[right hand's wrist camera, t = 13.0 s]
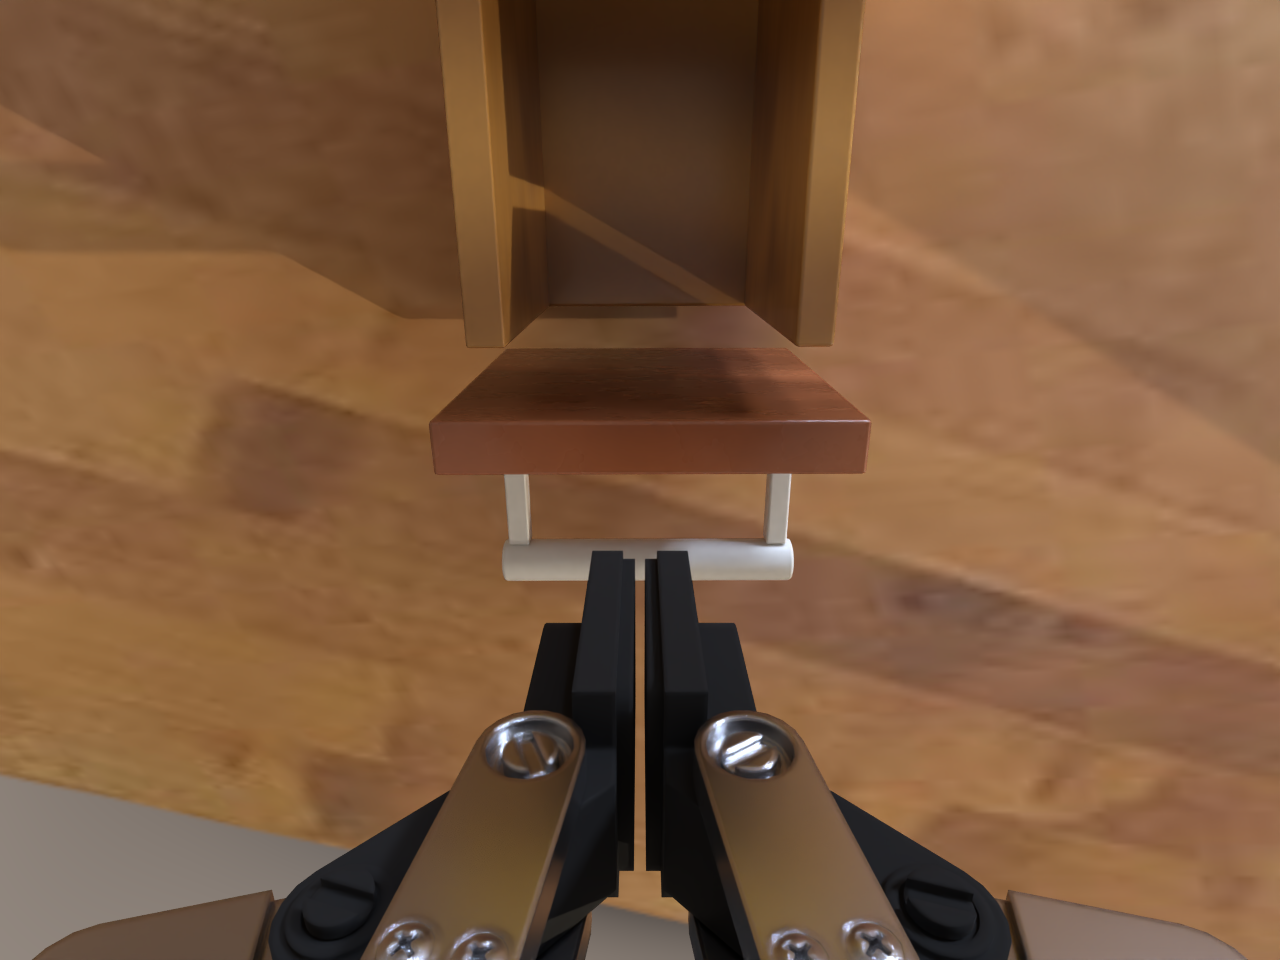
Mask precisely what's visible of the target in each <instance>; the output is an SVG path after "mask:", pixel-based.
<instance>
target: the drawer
mask: <svg viewBox="0 0 1280 960" xmlns="http://www.w3.org/2000/svg"><path fill="white" fill-rule="evenodd" d="M864 10H865V0H436V11H437V22H438V34H439V45H440V56H441V68H442V79H443V90H444V101H445V113H446V124H447V135H448V147H449V158H450V169H451V181H452V192H453V203H454V214H455V226H456V237H457V248H458V260H459V271H460V282H461V293H462V305H463V316H464V327H465V339H466V346H467V347H468V348H504V347H505V346H506V345H507V344H508V343H510V342H511V341H512V340H513V339H514V338H515V337H516V336H517V335H518V334H519V333H520V332H522V331H523V330H524V329H525V328H526V327H527V326H528V325H529V324H530V323H531V322H532V321H533V320H535V319H536V318H537V317H538V316H539V315H540V314H541V313H542V312H543V311H544V310H545V309H547V308H548V307H549V306H747V307H748V308H749V309H750V310H752V311H753V312H754V313H755V314H757V315H758V316H759V317H761V318H762V319H763V320H764V321H766V322H767V323H768V324H769V325H771V326H772V327H773V328H774V329H776V330H777V331H778V332H780V333H781V334H782V335H783V336H785V337H786V338H787V339H788V340H790V341H791V342H792V343H793V344H795V345H796V346H799V347H827V346H832V345H833V343H834V336H835V325H836V314H837V303H838V292H839V282H840V271H841V260H842V249H843V238H844V227H845V216H846V206H847V195H848V184H849V173H850V162H851V151H852V140H853V130H854V119H855V108H856V97H857V86H858V75H859V64H860V54H861V43H862V32H863V21H864ZM429 430H430V439H431V448H432V457H433V466H434V472H435V474H438V475H504V480H505V494H506V507H507V520H508V534H509V539H508V540H506V541H505V543H504V546H503V552H502V570H503V575H504V578H505V580H508V581H588V576H589V570H590V563H591V556H592V551H623V559H635V580H645V559H657V551H688V556H689V563H690V570H691V576H692V580H789V579H790V578H791V576H792V573H793V566H794V556H793V548H792V544H791V542H790V540H789V539H787V525H788V512H789V499H790V485H791V474H862V473H865V471H866V466H867V458H868V449H869V440H870V431H871V420H869V419H868V418H867V417H866V416H865V415H864V414H863V413H861V412H860V411H859V410H858V409H857V408H856V407H854V406H853V405H852V404H851V403H850V402H849V401H847V400H846V399H845V398H844V397H843V396H842V395H840V394H839V393H838V392H837V391H836V390H835V389H833V388H832V387H831V386H830V385H829V384H828V383H826V382H825V381H824V380H823V379H822V378H821V377H819V376H818V375H817V374H816V373H815V372H814V371H812V370H811V369H810V368H809V367H808V366H807V365H805V364H804V363H803V362H802V361H801V360H800V359H798V358H797V357H796V356H795V355H794V354H793V353H791V352H790V351H789V350H788V349H786V348H626V349H506V350H505V351H504V352H503V353H502V354H501V355H500V356H499V357H498V358H497V359H495V360H494V361H493V362H492V363H491V364H490V365H489V366H488V367H487V368H486V369H485V370H484V371H483V372H482V373H481V374H480V375H479V376H478V377H476V378H475V379H474V380H473V381H472V382H471V383H470V384H469V385H468V386H467V387H466V388H465V389H464V390H463V391H462V392H461V393H460V394H459V395H457V396H456V397H455V398H454V399H453V400H452V401H451V402H450V403H449V404H448V405H447V406H446V407H445V408H444V409H443V410H442V411H441V412H440V413H439V414H437V415H436V416H435V417H434V418H433V419H432V420H431V421H430V423H429ZM528 474H767V482H766V498H765V514H764V530H763V536H764V538H689V539H531V538H532V525H531V509H530V493H529V477H528Z"/></svg>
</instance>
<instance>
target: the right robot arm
mask: <svg viewBox="0 0 1280 960" xmlns="http://www.w3.org/2000/svg"><path fill="white" fill-rule="evenodd" d="M634 802H635V559H623V551H592V556H591V563H590V570H589V576H588V583H587V590H586V597H585V604H584V611H583V618H582V623H546V624H545V625H544V628H543V632H542V636H541V640H540V645H539V649H538V653H537V657H536V661H535V666H534V670H533V674H532V678H531V682H530V687H529V691H528V695H527V699H526V703H525V708H524V712H519V713H515V714H511V715H509V716H507V717H504V718H502V719H500V720H498V721H496V722H495V723H494V724H492V725H491V726H489V727H488V728H487V729H485V731H484V732H483V733H482V734H481V736H480V737H479V738H478V740H477V741H476V743H475V745H474V747H473V749H472V751H471V752H470V754H469V756H468V758H467V760H466V762H465V764H464V766H463V767H462V769H461V771H460V773H459V775H458V777H457V779H456V781H455V782H454V784H453V786H452V788H451V790H450V791H448V792H446V793H445V794H443V795H441V796H440V797H438V798H436V799H435V800H433V801H431V802H430V803H428V804H426V805H425V806H423V807H422V808H420V809H418V810H417V811H415V812H413V813H412V814H410V815H408V816H407V817H405V818H403V819H402V820H400V821H398V822H397V823H395V824H393V825H392V826H390V827H389V828H387V829H385V830H384V831H382V832H380V833H379V834H377V835H375V836H374V837H372V838H370V839H369V840H367V841H365V842H364V843H362V844H360V845H359V846H357V847H356V848H354V849H352V850H351V851H349V852H347V853H346V854H344V855H342V856H341V857H339V858H337V859H336V860H334V861H332V862H331V863H329V864H327V865H326V866H324V867H323V868H321V869H319V870H318V871H316V872H315V873H313V874H312V875H311V876H309V877H308V878H307V879H305V880H304V881H303V882H301V883H300V884H299V885H297V886H296V887H295V888H294V890H293V891H292V892H291V893H290V894H289V895H288V896H287V898H284V899H279V900H274V897H273V893H272V890H269V891H263V892H259V893H254V894H248V895H243V896H238V897H233V898H228V899H223V900H218V901H213V902H208V903H203V904H198V905H193V906H188V907H183V908H178V909H173V910H167V911H162V912H157V913H152V914H147V915H142V916H137V917H132V918H127V919H122V920H117V921H112V922H107V923H102V924H98V925H95V926H92V927H89V928H86V929H83V930H80V931H76V932H74V933H72V934H70V935H68V936H66V937H65V938H63V939H61V940H59V941H58V942H56V943H54V944H52V945H51V946H49V947H47V948H45V949H44V950H43V951H42V952H41V953H40V954H38V955H37V956H36V957H35V958H34V959H32V960H585V957H586V953H587V948H588V944H589V940H590V935H591V922H592V914H591V911H592V910H593V909H594V908H596V907H597V906H598V905H599V904H600V903H601V902H602V901H604V900H605V899H606V898H607V897H618V892H619V871H634ZM645 803H646V871H661V892H662V897H673V898H674V899H675V900H676V901H678V902H679V903H680V904H681V905H682V906H683V907H684V908H686V909H687V910H688V911H689V914H688V922H689V935H690V940H691V944H692V948H693V953H694V957H695V960H1248V959H1246V958H1245V957H1244V956H1243V955H1242V954H1240V953H1239V952H1238V951H1237V950H1236V949H1235V948H1233V947H1231V946H1229V945H1228V944H1226V943H1224V942H1222V941H1221V940H1219V939H1217V938H1215V937H1214V936H1212V935H1210V934H1208V933H1207V932H1204V931H1200V930H1197V929H1194V928H1191V927H1188V926H1185V925H1182V924H1178V923H1173V922H1168V921H1163V920H1158V919H1153V918H1148V917H1143V916H1138V915H1133V914H1128V913H1123V912H1118V911H1113V910H1107V909H1102V908H1097V907H1092V906H1087V905H1082V904H1077V903H1072V902H1067V901H1062V900H1057V899H1052V898H1047V897H1042V896H1037V895H1032V894H1027V893H1022V892H1017V891H1011V890H1008V893H1007V897H1006V900H1001V899H996V898H993V896H992V895H991V894H990V893H989V892H988V891H987V890H986V888H985V887H984V886H983V885H981V884H980V883H979V882H977V881H976V880H975V879H973V878H972V877H971V876H969V875H968V874H967V873H965V872H964V871H962V870H961V869H959V868H957V867H956V866H954V865H953V864H951V863H949V862H948V861H946V860H944V859H943V858H941V857H939V856H938V855H936V854H934V853H933V852H931V851H929V850H928V849H926V848H924V847H923V846H921V845H920V844H918V843H916V842H915V841H913V840H911V839H910V838H908V837H906V836H905V835H903V834H901V833H900V832H898V831H896V830H895V829H893V828H891V827H890V826H888V825H887V824H885V823H883V822H882V821H880V820H878V819H877V818H875V817H873V816H872V815H870V814H868V813H867V812H865V811H863V810H862V809H860V808H858V807H857V806H855V805H854V804H852V803H850V802H849V801H847V800H845V799H844V798H842V797H840V796H839V795H837V794H835V793H834V792H832V791H830V790H829V788H828V786H827V784H826V782H825V781H824V779H823V777H822V775H821V773H820V771H819V769H818V767H817V766H816V764H815V762H814V760H813V758H812V756H811V754H810V752H809V751H808V749H807V747H806V745H805V743H804V741H803V740H802V738H801V737H800V736H799V734H798V733H797V732H796V731H795V729H793V728H792V727H791V726H789V725H788V724H786V723H785V722H784V721H782V720H780V719H778V718H776V717H773V716H771V715H769V714H765V713H761V712H756V708H755V703H754V699H753V695H752V691H751V687H750V682H749V678H748V674H747V670H746V666H745V661H744V657H743V653H742V649H741V645H740V641H739V636H738V632H737V628H736V625H735V624H734V623H698V618H697V611H696V604H695V597H694V590H693V583H692V576H691V570H690V563H689V556H688V551H657V559H645Z"/></svg>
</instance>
